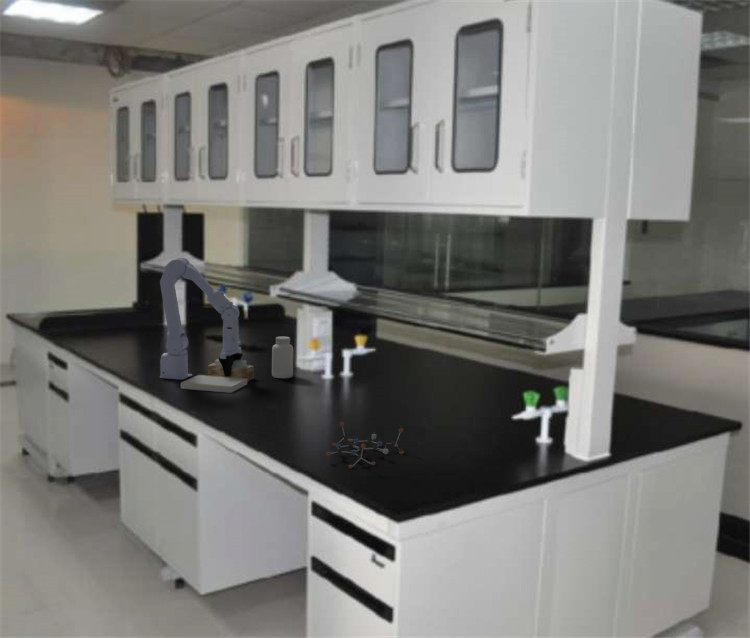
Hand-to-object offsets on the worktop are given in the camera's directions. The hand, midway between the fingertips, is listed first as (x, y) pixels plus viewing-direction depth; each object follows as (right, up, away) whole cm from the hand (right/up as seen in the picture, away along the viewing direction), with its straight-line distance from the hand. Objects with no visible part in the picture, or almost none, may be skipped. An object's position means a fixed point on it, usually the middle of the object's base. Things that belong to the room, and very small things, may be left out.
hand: (230, 374), depth 299 cm
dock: (-3, -3, -13) cm, 14 cm away
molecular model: (+49, -16, -85) cm, 100 cm away
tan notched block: (0, -2, 0) cm, 2 cm away
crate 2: (+3, +3, -1) cm, 5 cm away
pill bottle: (+19, -1, +5) cm, 19 cm away
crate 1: (-3, +3, 0) cm, 5 cm away
